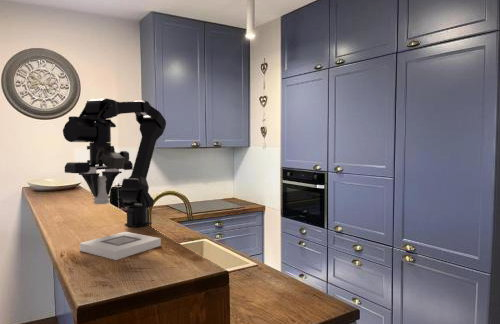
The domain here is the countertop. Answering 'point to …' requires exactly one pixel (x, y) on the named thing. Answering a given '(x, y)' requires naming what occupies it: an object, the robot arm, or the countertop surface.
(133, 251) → the socket block
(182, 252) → the countertop surface
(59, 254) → the countertop surface
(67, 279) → the countertop surface
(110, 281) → the countertop surface
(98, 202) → the rook chess piece
